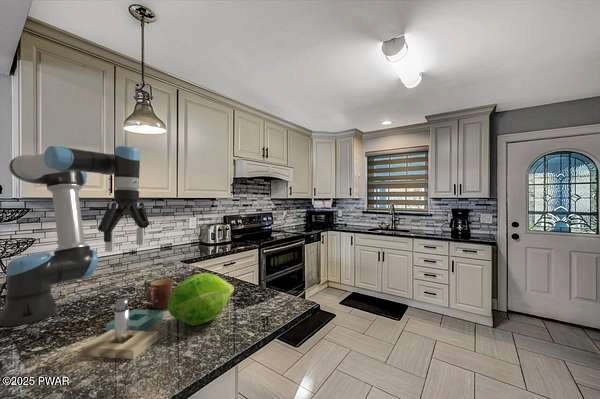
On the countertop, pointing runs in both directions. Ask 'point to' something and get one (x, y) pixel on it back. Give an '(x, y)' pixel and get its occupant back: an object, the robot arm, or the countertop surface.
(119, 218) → the robot arm
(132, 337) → the wooden square-hole plate
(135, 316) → the socket
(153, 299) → the mug
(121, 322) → the metal cylinder rod
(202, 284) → the lettuce
